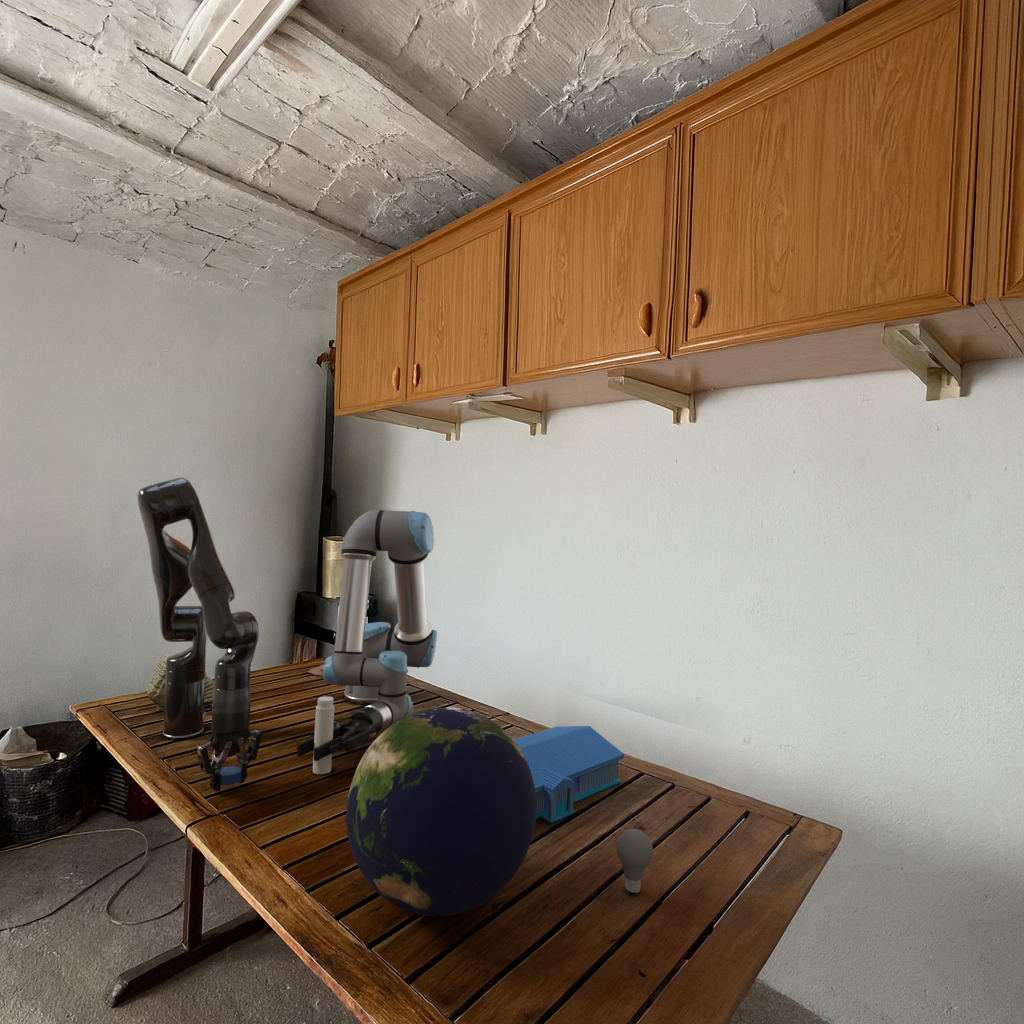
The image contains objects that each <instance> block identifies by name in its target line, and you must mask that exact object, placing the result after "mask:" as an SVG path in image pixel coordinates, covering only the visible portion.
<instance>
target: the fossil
mask: <svg viewBox="0 0 1024 1024" xmlns="http://www.w3.org/2000/svg"><path fill="white" fill-rule="evenodd" d="M171 655H172V654H165V655H164V656H163V657H162V658H161V659H160V660H159V662H158V663H157V666H156V667H155V669H154V670H153V672H152V675H151V677H150V680H149V684H148V688H147V697H148V699H149V700H150V701H152V703H153V704H154V706H155V711H158V712H159V711H162V712H163V711H164V705H165V674H166V660H167V658H168V657H169V656H171ZM213 692H214V680H213V679H212V678H211V677H209V675H208V674H207V672H206V671H205V693H204V707H207V706H212V698H213Z"/></svg>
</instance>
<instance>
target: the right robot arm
mask: <svg viewBox="0 0 1024 1024" xmlns="http://www.w3.org/2000/svg"><path fill="white" fill-rule="evenodd" d="M434 534H435V533H434V526H433V522H432V518H431V517H430V515H429V514H427V513H426V512H424V511H416V510H410V511H409V510H407V511H406V510H390V509H389V510H386V509H384V510H383V509H372V510H369V511H368V510H367V511H366V512H364V513H362V514H361V515H360V516H359V517H357V518H356V519H355V520H354V522H352V524H351V525H350V527H349V528H348V530H347V531H346V533H345V536H344V538H343V541H342V544H341V550H340V557H341V558H342V559H343V566H342V576H341V585H340V595H339V605H338V614H337V622H336V623H337V624H336V631H335V632H336V634H335V640H334V653H333V655H330V656H327V657H326V658H325V660H324V662H323V663H324V664H323V665H324V667H323V676H322V679H323V682H325V684H327V685H334V686H340V687H343V686H345V688H344V691H343V699H344V701H346V702H348V703H351V704H355V705H356V704H357V705H366V706H364V707H361V708H360V709H358V710H355V711H354V712H353V713H352V714H351V715H350V717H349V719H346V720H343V721H341V722H338V721H337V719H335V718H334V725H333V739H332V740H330V741H328V742H326V743H324V744H322V745H320V746H318V747H316V748H314V736H315V729H313V730H310V732H309V738H307V739H305V740H303V741H301V742H299V743H297V745H296V757H299V758H300V757H302V756H304V755H306V754H309V753H310V752H312V751H313V755H314V761H318V760H320V759H322V758H324V757H326V756H327V755H329V754H332V755H333V754H334V753H336V752H341V751H343V750H344V752H348V753H349V752H351V751H353V750H355V749H357V748H358V747H360V746H363V745H365V744H366V743H369V742H373V741H375V740H376V739H377V738H376V735H378V734H379V733H380V734H381V733H382V732H384V731H385V730H386V729H388V728H389V727H390V726H392V725H393V724H394V723H396V722H398V721H399V720H401V719H403V718H405V717H407V716H409V715H411V714H412V712H413V708H414V703H413V701H412V697H411V696H410V695H409V693H407V680H408V673H409V671H408V670H409V669H408V668H417V669H419V668H429V667H430V666H432V664H433V662H434V658H435V652H436V647H437V641H438V630H436V629H433V628H432V624H431V622H429V620H427V607H426V606H427V605H426V581H425V564H424V563H425V562H424V561H426V559H428V557H429V554H430V553H432V552H433V549H434V546H435V545H434V541H435V539H434V536H435V535H434ZM377 552H387V557H388V560H389V561H390V562H391V563H393V570H394V583H395V595H396V610H397V623H396V624H395V626H394V627H392V626H391V623H390V622H386V621H376V622H370V623H369V622H368V623H367V622H366V621H367V614H368V613H367V612H368V604H369V603H368V601H369V593H370V584H371V583H370V582H371V571H372V570H371V569H372V562H373V561H375V560H376V558H377Z"/></svg>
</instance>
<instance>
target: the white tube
mask: <svg viewBox="0 0 1024 1024" xmlns="http://www.w3.org/2000/svg"><path fill="white" fill-rule="evenodd" d="M316 702H317V705H316V706H315V718H314V730H315V736H314V748H316V747H318V746H320V745H322V744H324V743H326V742H328V741H330V740H332V739H333V725H334V719H335V705H334V697H332V696H328V695H327V696H320V697H318V698H317V701H316ZM332 759H333V753H332V754H329V755H327V756H326V757H324V758H322V759H320V760H318V761H314V754H313V756H312V773H313V774H315V775H326V774H329V773H331V771H332V762H333V761H332Z"/></svg>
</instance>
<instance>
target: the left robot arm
mask: <svg viewBox="0 0 1024 1024" xmlns="http://www.w3.org/2000/svg"><path fill="white" fill-rule="evenodd" d="M137 506H138V510H139V514H140V517H141V521H142V524H143V528H144V531H145V536H146V539H147V544H148V550H149V557H150V565H151V573H152V577H153V581H154V587H155V592H156V596H157V601H158V616H159V631H160V634H161V637H162V638H163V640H164V641H165V642H168V643H192V645H191V646H190V647H188V648H186V649H185V650H182V651H180V652H176V653H174V654H170V655H171V656H169V657H168V658H167V660H166V674H165V705H164V710H163V731H162V737H164V738H166V739H169V740H185V739H190V738H191V739H192V738H194V737H197V736H199V735H202V734H203V732H204V730H205V729H204V722H205V721H204V718H205V716H206V711H205V706H204V693H205V672H206V664H207V663H206V656H207V640H208V639H209V640H210V642H211V643H212V645H214V646H215V648H218V649H221V650H225V651H226V652H225V653H224V655H223V656H222V657H221V658H219V659H218V660H217V661H216V663H215V665H214V680H213V682H214V692H213V698H212V705H211V723H210V724H211V727H210V728H211V736H210V738H209V741H208V742H205V743H204V744H200V743H199V744H197V745H195V752H196V755H197V759H198V763H199V768H200V771H202V772H204V773H205V774H206V775H209V787H210V789H212V790H213V791H214V792H219V791H221V786H222V785H221V773H220V771H221V768H223V765H224V764H225V763H226V761H227V758H228V757H230V756H232V755H235V757H236V760H237V761H238V763H236V767H239V768H241V772H242V776H241V780H240V781H239V782H238V783H239V784H243V783H245V782H246V779H247V777H248V765H249V763H250V762H252V761H255V760H256V759H257V757H258V754H259V750H260V746H261V742H262V738H263V732H262V731H260V730H258V729H256V728H255V729H252V730H250V728H249V727H250V725H251V705H252V704H251V702H252V701H251V700H252V691H251V672H252V671H251V666H252V662H253V659H254V657H255V656H254V655H255V652H256V650H257V649H256V648H257V646H258V645H257V644H258V641H259V635H260V626H259V622H258V621H259V620H258V619H257V617H256V616H255V615H254V614H253V613H252V612H250V611H247V610H240V611H235V612H233V613H232V610H231V606H230V603H231V602H232V601H233V600H234V599H235V598H236V590H235V587H234V586H233V584H232V581H231V580H230V577H229V575H228V573H227V571H226V570H225V568H224V565H223V563H222V561H221V559H220V556H219V554H218V551H217V547H216V545H215V542H214V539H213V536H212V532H211V530H210V527H209V524H208V521H207V517H206V515H205V512H204V508H203V507H202V504H201V501H200V498H199V496H198V493H197V492H196V490H195V487H194V485H193V484H192V483H191V482H190V481H189V480H188V479H187V478H185V477H176V478H172V479H168V480H164V481H160V482H157V483H153V484H149V485H146V486H144V487H142V488H140V489H139V490H138V492H137ZM185 520H188V521H189V524H190V527H191V534H192V540H191V546H190V547H189V546H187V545H185V544H184V543H183V542H182V541H180V540H178V539H176V538H175V537H173V536H172V535H170V534H169V533H168V532H167V531H166V530H165V527H166V526H170V525H173V524H175V523H176V524H177V523H179V522H182V521H185ZM190 548H191V549H190ZM192 588H193V590H194V592H195V594H196V596H197V598H198V600H199V602H200V604H201V605H177V604H178V603H179V601H180V600H181V599H182V598H183V597H185V595H186V594H187V593H189V591H191V589H192ZM207 637H208V639H207ZM248 740H249V741H248ZM247 741H248V744H247ZM246 744H247V748H246ZM211 749H213V752H212V755H211V760H210V754H211Z"/></svg>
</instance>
